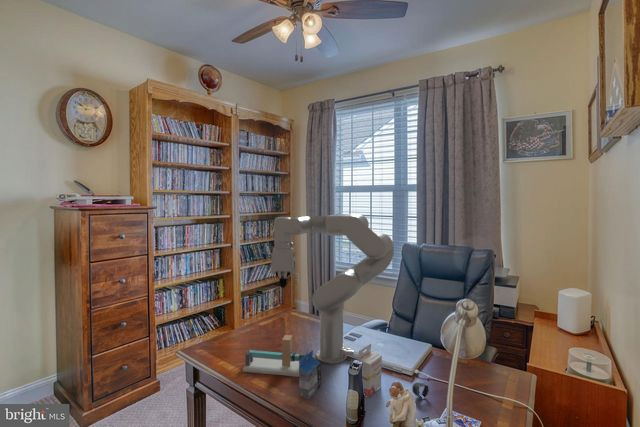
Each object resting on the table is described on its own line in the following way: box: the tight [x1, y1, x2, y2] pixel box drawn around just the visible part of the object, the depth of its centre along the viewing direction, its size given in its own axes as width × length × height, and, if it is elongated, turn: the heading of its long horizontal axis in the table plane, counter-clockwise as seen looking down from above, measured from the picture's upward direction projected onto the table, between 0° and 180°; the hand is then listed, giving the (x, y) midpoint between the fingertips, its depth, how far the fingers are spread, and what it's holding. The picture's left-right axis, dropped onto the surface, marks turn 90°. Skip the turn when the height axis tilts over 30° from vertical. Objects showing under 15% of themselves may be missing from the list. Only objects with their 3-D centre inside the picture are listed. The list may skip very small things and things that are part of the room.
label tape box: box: [298, 350, 322, 400], centre depth 112 cm, size 9×4×12 cm, turn 151°
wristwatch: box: [412, 382, 430, 399], centre depth 108 cm, size 3×5×5 cm, turn 103°
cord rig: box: [242, 349, 309, 377], centre depth 127 cm, size 24×9×7 cm, turn 81°
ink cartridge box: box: [357, 343, 383, 398], centre depth 113 cm, size 9×5×15 cm, turn 141°
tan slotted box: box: [281, 334, 294, 367], centre depth 126 cm, size 3×4×10 cm
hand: (283, 286), depth 143 cm, fingers closed
